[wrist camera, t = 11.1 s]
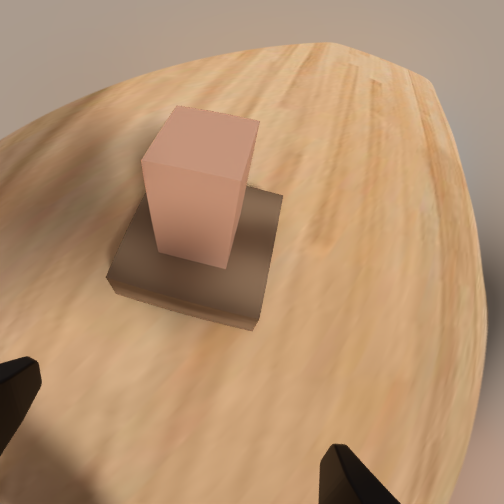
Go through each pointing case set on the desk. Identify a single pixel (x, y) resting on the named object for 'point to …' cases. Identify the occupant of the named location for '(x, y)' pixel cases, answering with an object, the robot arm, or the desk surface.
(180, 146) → the terracotta block
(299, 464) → the desk surface
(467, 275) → the desk surface
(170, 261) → the walnut plinth
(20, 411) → the robot arm
